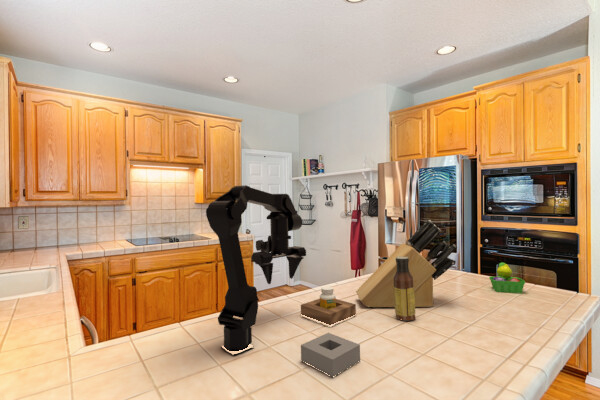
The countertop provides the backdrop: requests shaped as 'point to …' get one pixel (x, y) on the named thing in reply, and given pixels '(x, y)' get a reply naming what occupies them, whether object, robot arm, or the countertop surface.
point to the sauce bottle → (404, 290)
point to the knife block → (382, 280)
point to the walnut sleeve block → (328, 311)
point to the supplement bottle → (327, 298)
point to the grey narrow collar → (330, 353)
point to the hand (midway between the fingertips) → (280, 281)
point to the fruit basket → (506, 281)
